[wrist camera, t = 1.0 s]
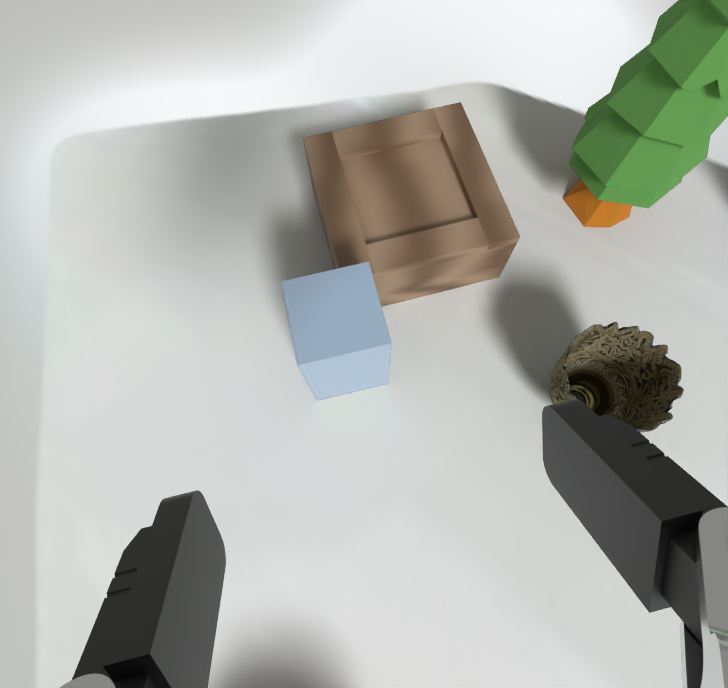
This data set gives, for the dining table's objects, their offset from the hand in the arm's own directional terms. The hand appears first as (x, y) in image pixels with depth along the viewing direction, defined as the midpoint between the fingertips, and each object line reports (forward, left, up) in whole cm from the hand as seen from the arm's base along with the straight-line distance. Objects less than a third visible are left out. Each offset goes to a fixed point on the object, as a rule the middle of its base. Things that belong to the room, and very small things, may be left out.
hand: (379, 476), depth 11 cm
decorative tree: (-32, -12, -26) cm, 43 cm away
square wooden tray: (-15, -19, -26) cm, 36 cm away
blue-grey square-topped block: (-4, -11, -26) cm, 29 cm away
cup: (-18, +2, -26) cm, 32 cm away
